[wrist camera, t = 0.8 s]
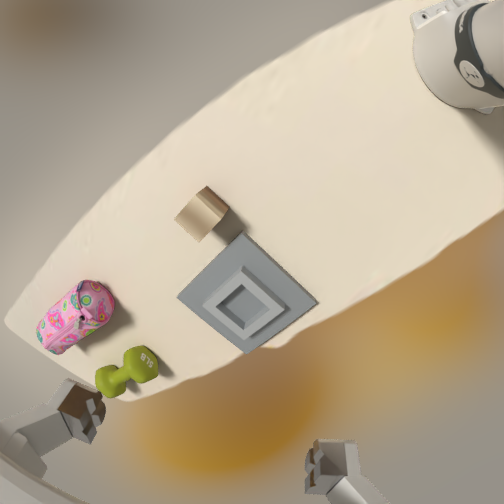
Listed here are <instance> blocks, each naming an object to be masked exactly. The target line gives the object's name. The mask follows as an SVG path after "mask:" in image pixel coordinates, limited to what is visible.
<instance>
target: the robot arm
mask: <svg viewBox="0 0 504 504" xmlns="http://www.w3.org/2000/svg"><path fill="white" fill-rule="evenodd" d="M422 15H423V16H424V17H425V19H424V18H423V17H422ZM410 21H411V25H412V28H413V31H414V42H413V54H414V60H415V63H416V66H417V69H418V72H419V74H420V76H421V77H422V79H423V81H424V82H425V84H426V85H427V86H428V88H429V89H430V90H431V91H432V92H433V93H434V94H435V95H436V96H437V97H438V98H439V99H441V100H442V101H444V102H445V103H447V104H449V105H451V106H454V107H458V108H472V109H475V110H477V111H479V112H481V113H483V114H490V113H492V111H493V109H494V108H495V107H499V106H504V0H494V1H492V2H490V1H489V0H446V1H443V2H440V3H438V4H435V5H432V6H430V7H427V8H424V9H422V10H419V11H417V12H414V13H412V14H411V15H410ZM102 397H103V396H102V393H101V391H98V390H95V389H93V388H90V387H88V386H86V385H83V384H81V383H79V382H76V381H74V380H72V379H69V378H67V379H65V380H64V381H63V383H62V384H61V385H60V387H59V388H58V389H57V391H56V392H55V394H54V395H53V396H52V398H51V399H50V400H49V402H48V403H47V404H44V403H43V404H41V405H38V406H36V407H33V408H31V409H28V410H26V411H23V412H21V413H18V414H15V415H13V416H10V417H7V418H5V419H2V420H1V421H0V504H89V503H87V502H85V501H82V500H80V499H78V498H76V497H74V496H72V495H70V494H68V493H66V492H64V491H62V490H60V489H59V488H57V487H55V486H53V485H51V484H49V483H48V482H46V481H44V480H43V479H42V478H43V476H44V474H45V472H46V470H47V466H46V464H45V463H44V462H43V460H42V459H41V458H40V457H41V456H43V455H45V454H46V453H48V452H49V451H51V450H53V449H55V448H57V447H58V446H60V445H61V444H63V443H65V442H67V441H68V440H70V439H72V437H74V438H77V439H79V440H81V441H83V442H86V443H88V444H91V443H92V441H93V439H94V437H95V435H96V433H97V431H96V427H97V426H99V425H101V424H102V422H103V420H104V417H105V413H106V407H105V404H104V403H103V402H102V400H101V399H102ZM305 471H306V472H307V473H308V476H307V477H306V479H305V494H320V495H321V494H322V495H326V497H327V498H328V500H329V501H330V503H331V504H390V503H389V502H388V501H387V499H386V498H385V497H384V496H383V495H381V493H380V492H379V491H378V490H377V489H376V488H375V486H374V485H373V484H372V483H371V482H370V481H369V480H368V479H367V478H366V476H362V475H361V468H360V461H359V454H358V447H357V443H356V441H354V440H331V439H316V440H315V441H314V443H313V448H311V449H310V450H309V451H308V453H307V456H306V460H305Z"/></svg>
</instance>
